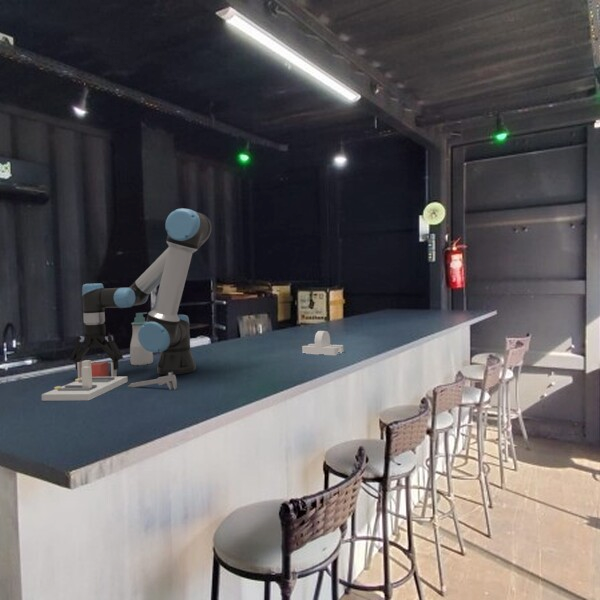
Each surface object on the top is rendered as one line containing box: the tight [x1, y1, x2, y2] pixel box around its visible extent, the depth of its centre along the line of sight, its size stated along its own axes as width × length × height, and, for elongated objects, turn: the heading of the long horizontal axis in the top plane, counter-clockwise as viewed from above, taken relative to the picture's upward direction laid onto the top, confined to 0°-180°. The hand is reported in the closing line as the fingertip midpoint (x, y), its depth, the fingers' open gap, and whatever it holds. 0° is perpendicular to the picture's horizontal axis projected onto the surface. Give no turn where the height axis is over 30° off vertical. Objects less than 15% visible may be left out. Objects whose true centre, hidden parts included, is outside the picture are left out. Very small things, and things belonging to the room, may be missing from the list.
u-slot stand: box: [301, 330, 344, 356], centre depth 225 cm, size 10×18×11 cm, turn 61°
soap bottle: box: [129, 312, 154, 366], centre depth 211 cm, size 10×10×23 cm
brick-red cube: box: [91, 361, 110, 377], centre depth 182 cm, size 6×6×6 cm
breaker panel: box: [41, 376, 129, 402], centre depth 163 cm, size 16×26×3 cm, turn 174°
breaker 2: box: [81, 366, 92, 388], centre depth 156 cm, size 2×2×7 cm
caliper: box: [127, 372, 178, 391], centre depth 163 cm, size 20×1×6 cm, turn 69°
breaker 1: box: [81, 359, 92, 372], centre depth 169 cm, size 2×2×7 cm
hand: (97, 378), depth 183 cm, fingers open, 13 cm apart
